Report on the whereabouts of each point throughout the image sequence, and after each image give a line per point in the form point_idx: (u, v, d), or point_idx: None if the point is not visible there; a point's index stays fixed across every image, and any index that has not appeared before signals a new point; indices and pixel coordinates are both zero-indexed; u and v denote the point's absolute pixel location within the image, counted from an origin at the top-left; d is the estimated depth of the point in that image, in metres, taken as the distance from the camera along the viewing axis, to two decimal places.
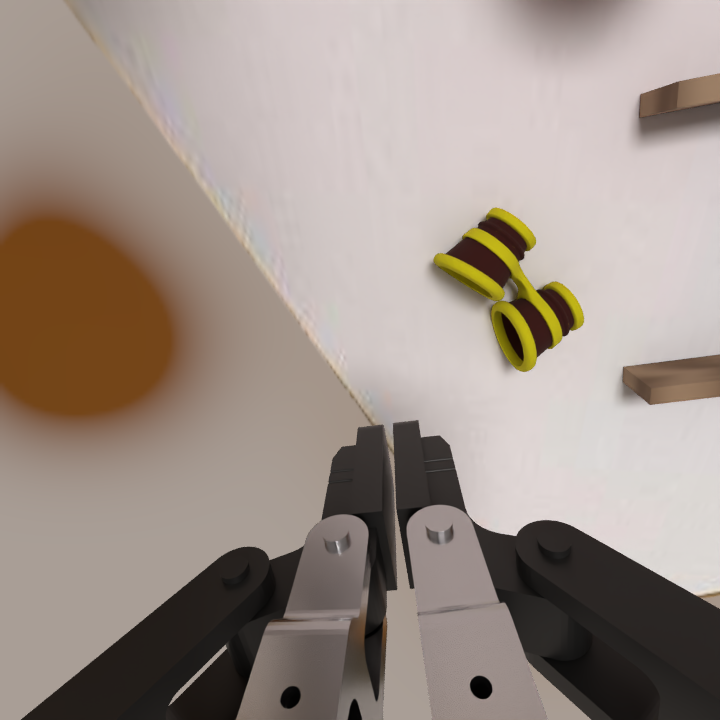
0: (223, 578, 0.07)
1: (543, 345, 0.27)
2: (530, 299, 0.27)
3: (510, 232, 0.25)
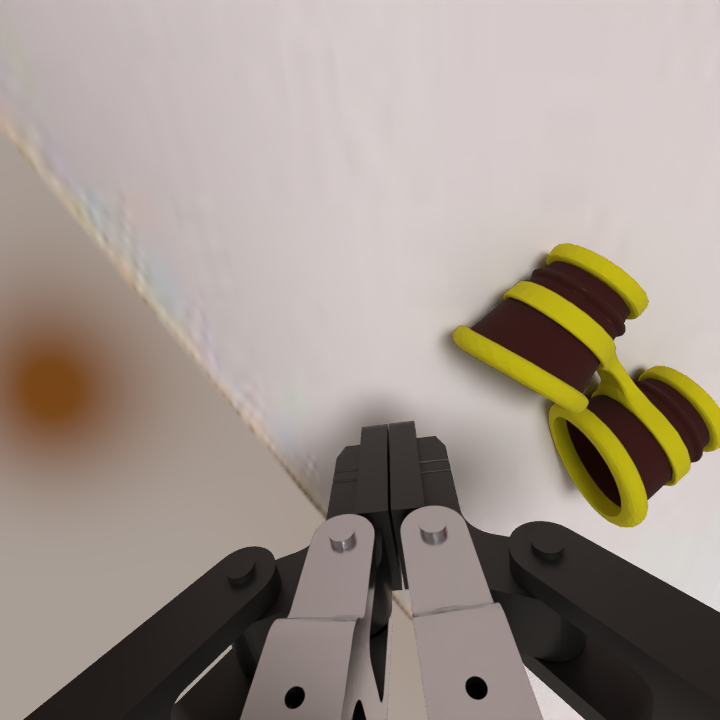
0: (229, 578, 0.07)
1: (657, 489, 0.15)
2: (630, 406, 0.15)
3: (603, 294, 0.13)
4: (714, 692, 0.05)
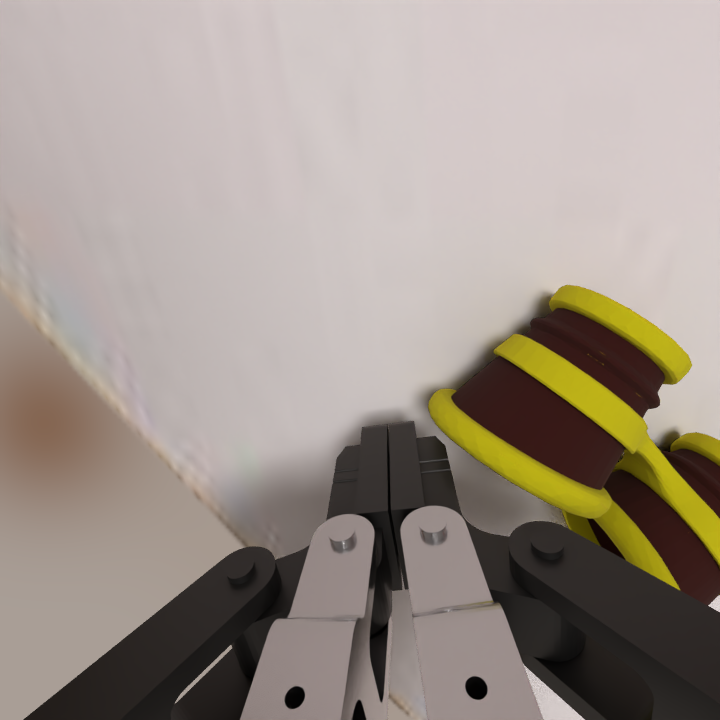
0: (229, 578, 0.07)
1: None
2: (666, 495, 0.11)
3: (629, 359, 0.09)
4: (714, 692, 0.05)
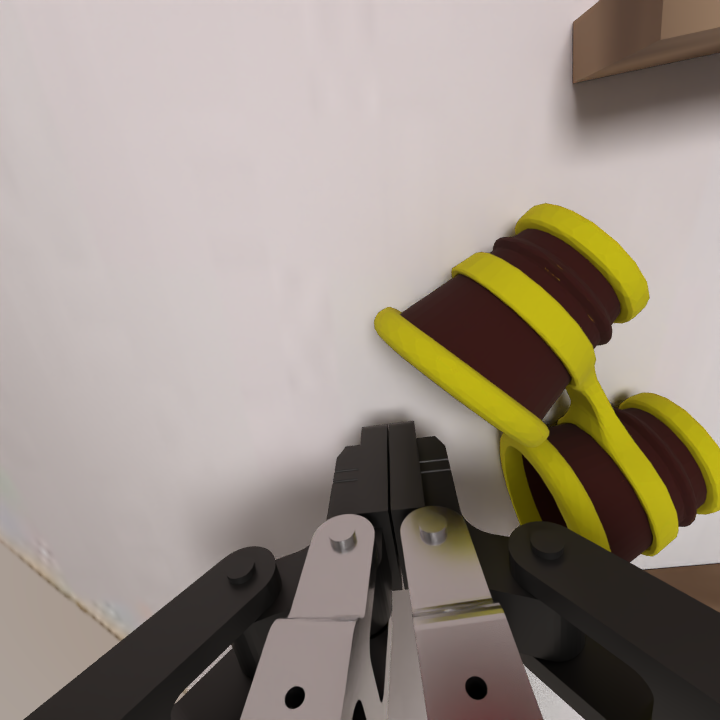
0: (229, 578, 0.07)
1: (629, 561, 0.11)
2: (606, 443, 0.11)
3: (587, 278, 0.09)
4: (714, 692, 0.05)
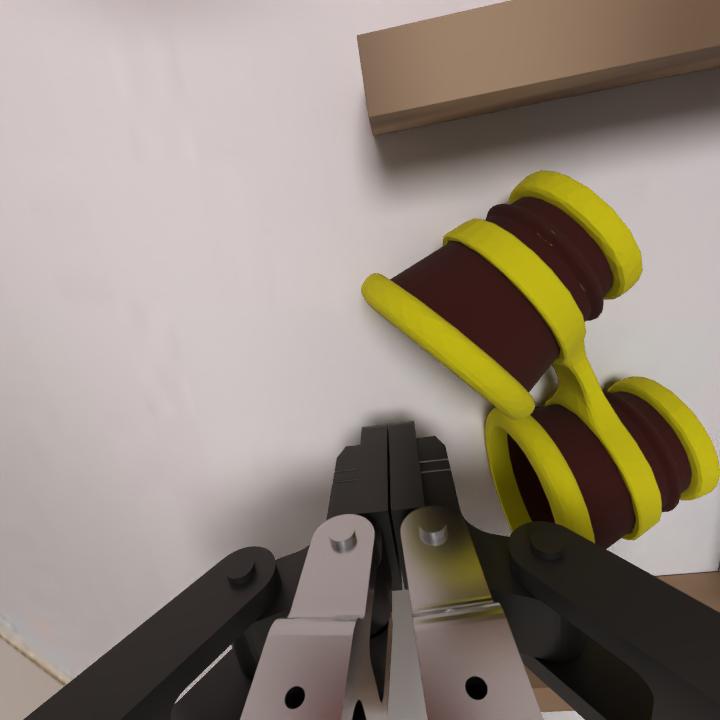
0: (229, 578, 0.07)
1: (610, 543, 0.11)
2: (592, 422, 0.11)
3: (580, 245, 0.09)
4: (713, 692, 0.05)
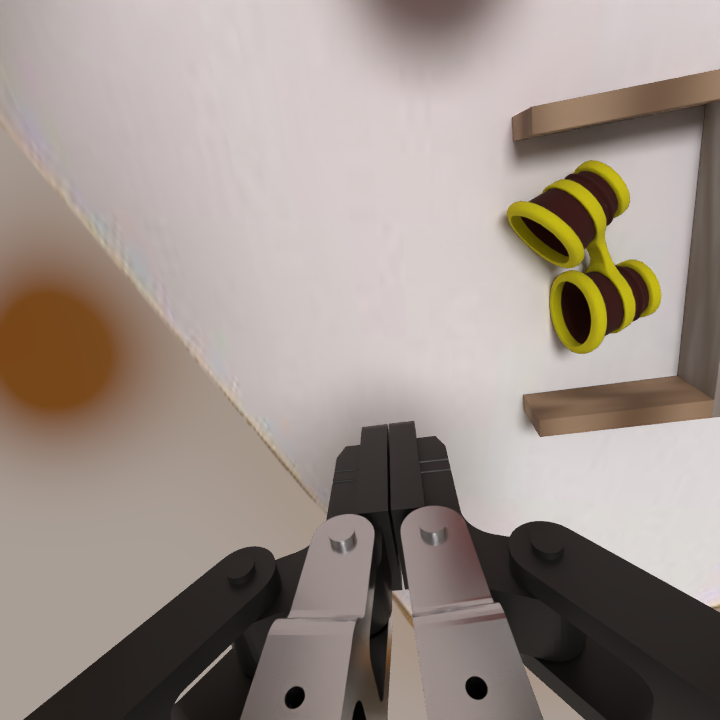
0: (229, 578, 0.07)
1: (613, 325, 0.24)
2: (606, 272, 0.24)
3: (605, 189, 0.22)
4: (714, 692, 0.05)
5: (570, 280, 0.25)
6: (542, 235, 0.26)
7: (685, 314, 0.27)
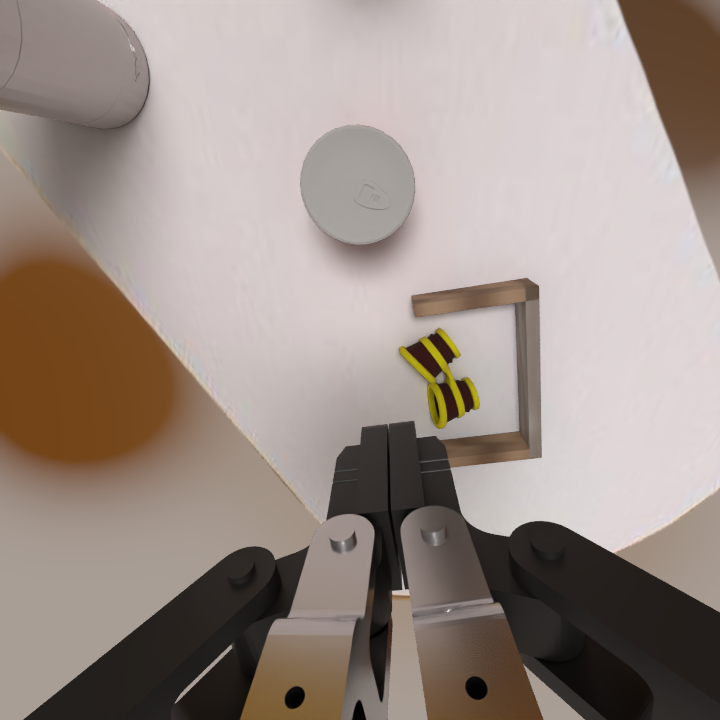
0: (229, 578, 0.07)
1: (452, 416, 0.44)
2: (451, 386, 0.44)
3: (446, 347, 0.42)
4: (714, 692, 0.05)
5: (432, 389, 0.44)
6: None
7: (519, 397, 0.47)
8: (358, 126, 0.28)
